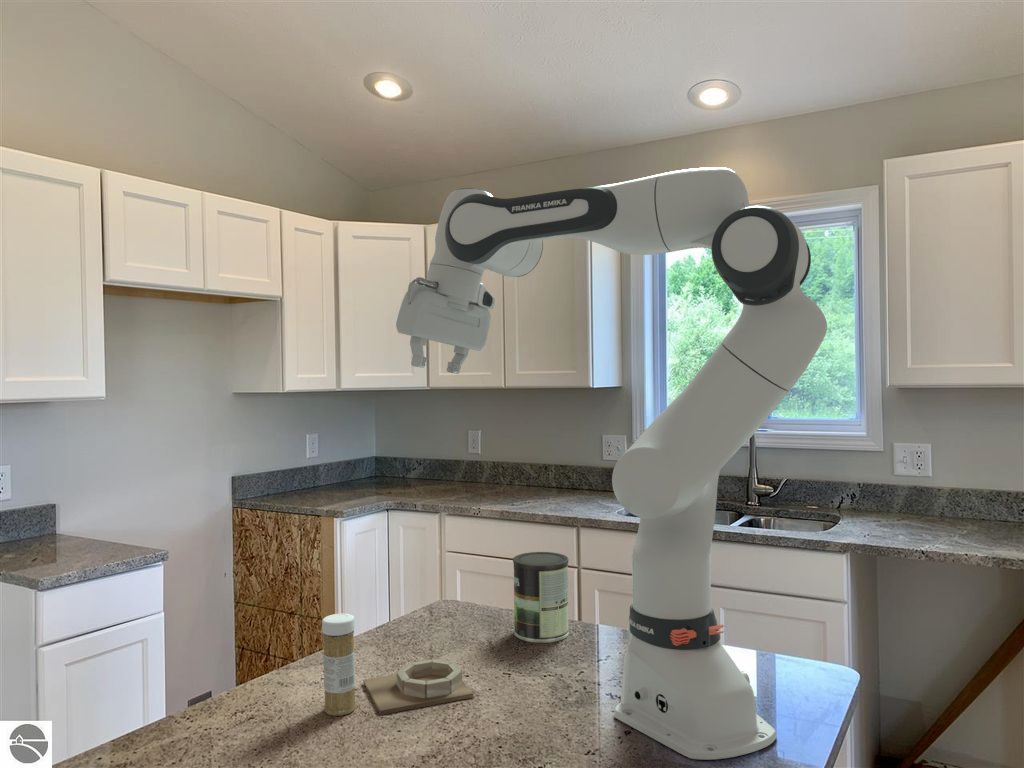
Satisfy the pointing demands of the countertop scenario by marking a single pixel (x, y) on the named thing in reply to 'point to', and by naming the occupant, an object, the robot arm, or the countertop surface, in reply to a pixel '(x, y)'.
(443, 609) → the countertop surface
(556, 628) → the coffee can
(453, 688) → the socket board
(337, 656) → the sprinkles bottle
